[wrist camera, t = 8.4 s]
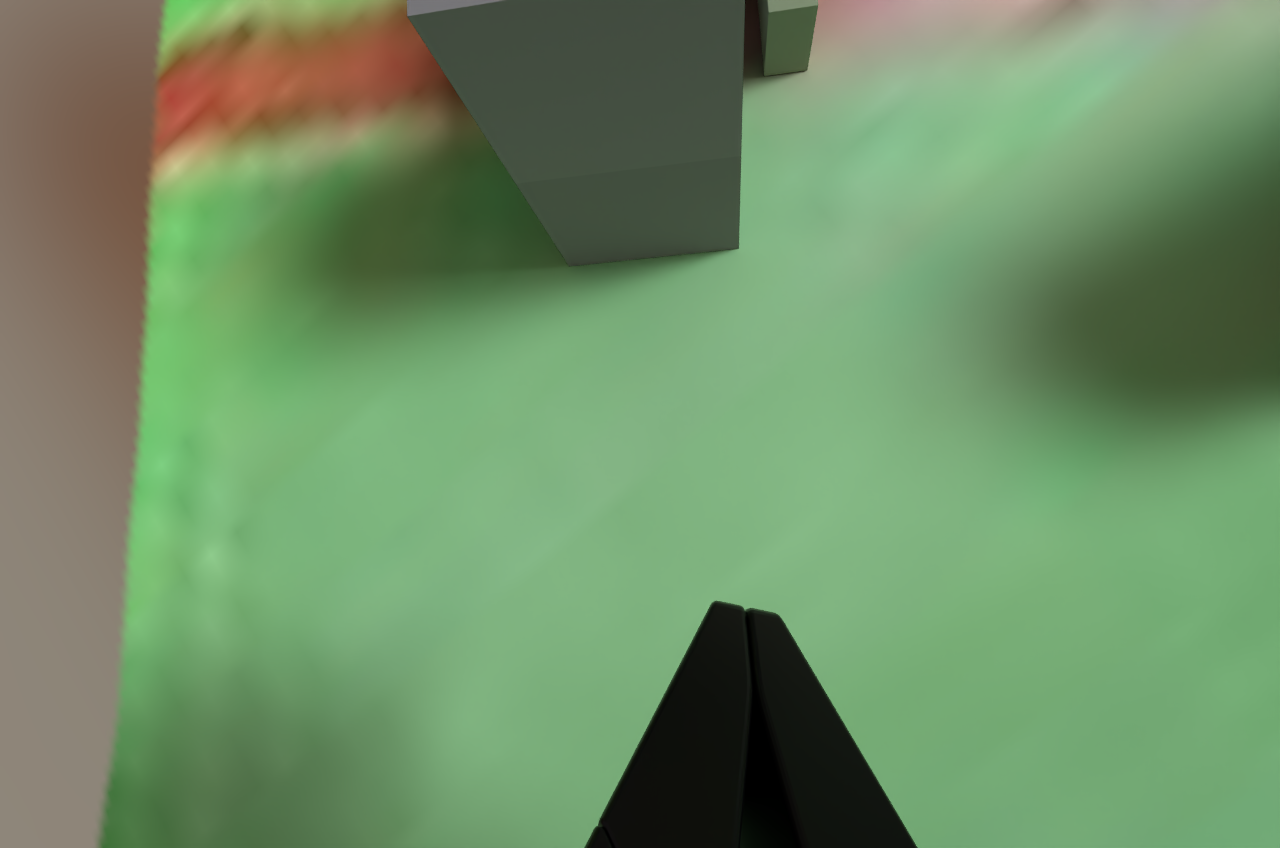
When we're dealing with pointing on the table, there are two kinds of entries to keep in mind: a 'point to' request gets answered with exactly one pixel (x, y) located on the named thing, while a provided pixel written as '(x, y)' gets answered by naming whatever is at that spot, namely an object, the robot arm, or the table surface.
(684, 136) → the grey block
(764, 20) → the mower deck
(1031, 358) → the table surface
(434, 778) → the table surface
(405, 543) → the table surface
